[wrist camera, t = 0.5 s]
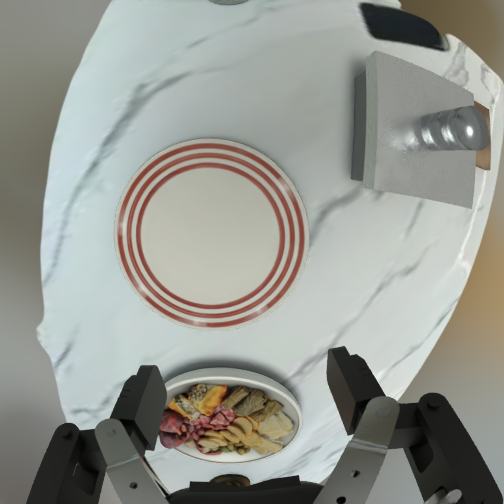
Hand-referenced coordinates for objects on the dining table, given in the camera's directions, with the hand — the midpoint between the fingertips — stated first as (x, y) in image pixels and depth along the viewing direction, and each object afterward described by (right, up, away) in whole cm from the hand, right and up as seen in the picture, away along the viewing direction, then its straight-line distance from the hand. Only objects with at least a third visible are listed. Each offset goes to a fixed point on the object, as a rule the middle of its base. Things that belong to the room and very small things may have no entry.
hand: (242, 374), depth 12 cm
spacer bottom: (+24, +21, +15) cm, 35 cm away
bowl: (-5, -27, +38) cm, 47 cm away
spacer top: (+24, +20, +11) cm, 33 cm away
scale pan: (+24, +22, +18) cm, 37 cm away
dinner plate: (-6, +8, +28) cm, 29 cm away
